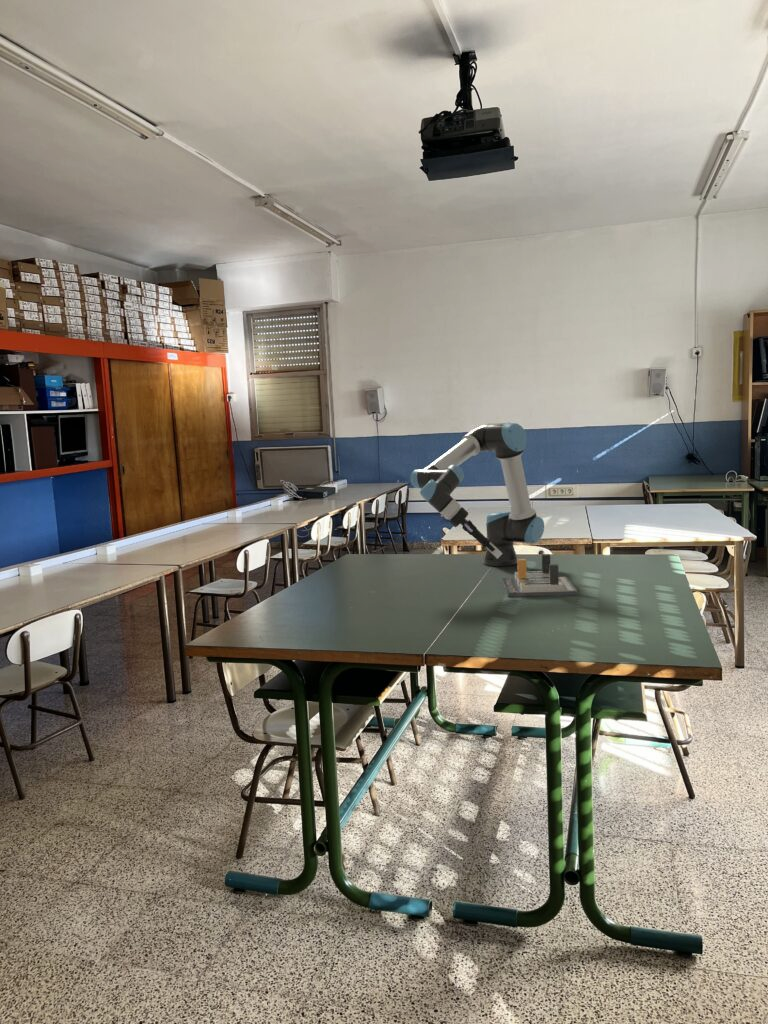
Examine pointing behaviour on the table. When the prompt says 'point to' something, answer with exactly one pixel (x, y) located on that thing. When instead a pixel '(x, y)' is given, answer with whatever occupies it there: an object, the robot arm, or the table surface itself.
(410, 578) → the table surface
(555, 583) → the breaker panel
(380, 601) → the table surface
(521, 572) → the breaker handle
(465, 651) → the table surface
